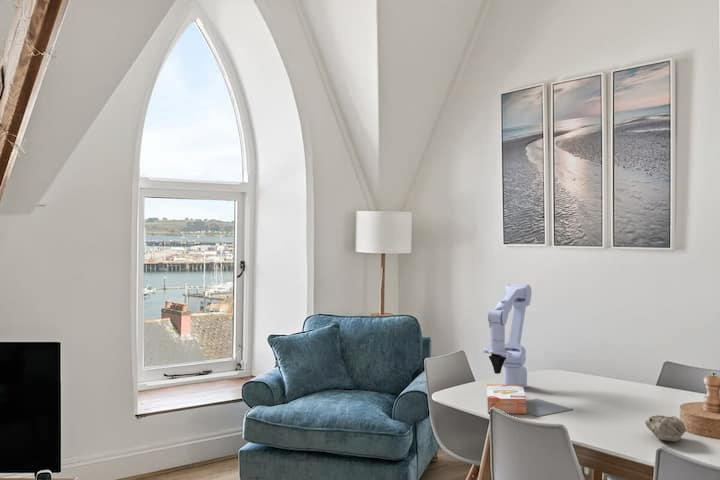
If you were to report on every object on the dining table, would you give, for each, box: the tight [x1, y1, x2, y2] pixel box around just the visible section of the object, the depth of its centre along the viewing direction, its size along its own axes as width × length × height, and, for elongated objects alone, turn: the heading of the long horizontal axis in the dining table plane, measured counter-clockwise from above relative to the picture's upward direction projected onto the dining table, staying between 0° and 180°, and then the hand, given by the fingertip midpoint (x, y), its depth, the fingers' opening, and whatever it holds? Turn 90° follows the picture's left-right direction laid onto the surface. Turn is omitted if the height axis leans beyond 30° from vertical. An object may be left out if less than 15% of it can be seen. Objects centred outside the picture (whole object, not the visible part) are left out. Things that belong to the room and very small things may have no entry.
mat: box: [526, 398, 574, 418], centre depth 252 cm, size 18×18×1 cm
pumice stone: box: [645, 414, 687, 443], centre depth 212 cm, size 14×12×8 cm
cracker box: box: [486, 383, 527, 414], centre depth 253 cm, size 14×6×21 cm
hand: (497, 373), depth 271 cm, fingers closed
